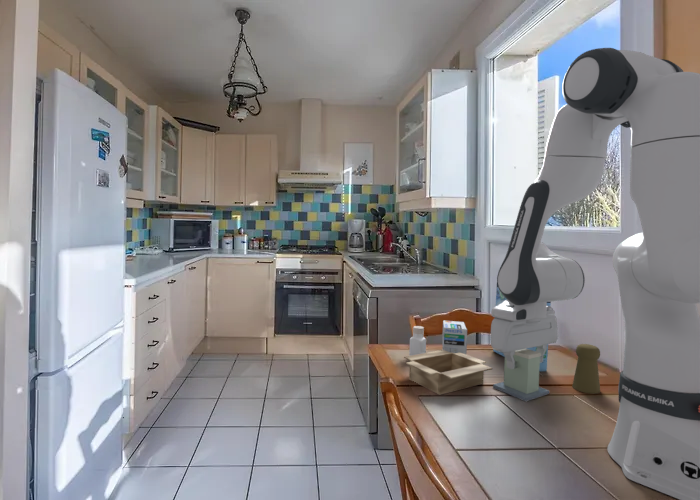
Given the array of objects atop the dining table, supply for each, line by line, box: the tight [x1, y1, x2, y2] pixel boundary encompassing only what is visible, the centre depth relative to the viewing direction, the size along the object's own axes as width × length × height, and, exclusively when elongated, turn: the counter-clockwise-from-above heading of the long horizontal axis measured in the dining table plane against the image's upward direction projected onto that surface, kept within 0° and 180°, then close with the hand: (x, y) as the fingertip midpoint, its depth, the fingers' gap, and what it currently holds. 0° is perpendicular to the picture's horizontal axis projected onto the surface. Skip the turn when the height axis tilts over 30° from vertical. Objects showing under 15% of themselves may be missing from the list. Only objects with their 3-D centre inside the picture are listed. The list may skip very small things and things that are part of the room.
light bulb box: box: [441, 320, 468, 355], centre depth 119 cm, size 11×7×11 cm, turn 168°
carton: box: [403, 349, 493, 396], centre depth 101 cm, size 17×19×5 cm
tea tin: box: [503, 349, 541, 394], centre depth 96 cm, size 7×5×9 cm
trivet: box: [492, 381, 550, 402], centre depth 96 cm, size 9×9×1 cm
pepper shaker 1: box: [408, 325, 427, 356], centre depth 119 cm, size 4×4×10 cm
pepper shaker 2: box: [571, 343, 601, 395], centre depth 98 cm, size 6×6×11 cm
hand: (525, 365), depth 96 cm, fingers open, 8 cm apart
